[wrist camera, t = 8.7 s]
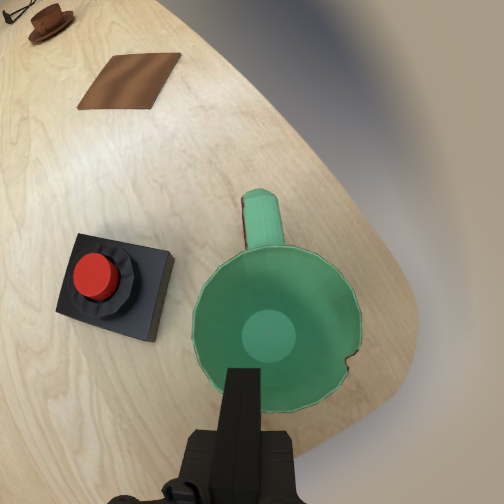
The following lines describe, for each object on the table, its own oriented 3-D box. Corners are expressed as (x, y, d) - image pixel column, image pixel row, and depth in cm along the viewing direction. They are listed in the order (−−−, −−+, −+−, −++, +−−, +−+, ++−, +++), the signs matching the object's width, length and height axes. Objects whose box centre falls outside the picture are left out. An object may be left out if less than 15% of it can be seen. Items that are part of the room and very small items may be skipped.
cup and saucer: (78, 24, 44) (70, 4, 38) (31, 52, 42) (21, 33, 36) (72, 12, 47) (65, -6, 42) (31, 36, 45) (22, 19, 40)
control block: (174, 258, 28) (163, 244, 25) (154, 342, 26) (139, 340, 22) (87, 240, 29) (69, 225, 25) (66, 315, 26) (44, 308, 23)
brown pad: (181, 55, 38) (180, 52, 38) (150, 109, 34) (149, 106, 34) (113, 57, 39) (112, 55, 38) (77, 109, 35) (76, 107, 34)
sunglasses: (46, 1, 54) (41, -10, 49) (9, 27, 51) (4, 16, 46) (36, -2, 58) (32, -12, 53) (4, 20, 55) (-1, 11, 50)
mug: (331, 380, 25) (374, 394, 16) (219, 397, 25) (202, 423, 15) (304, 225, 30) (327, 168, 20) (201, 238, 29) (180, 184, 20)
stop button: (123, 263, 24) (115, 257, 23) (112, 304, 23) (103, 301, 22) (89, 255, 25) (80, 249, 23) (78, 294, 24) (68, 290, 22)
